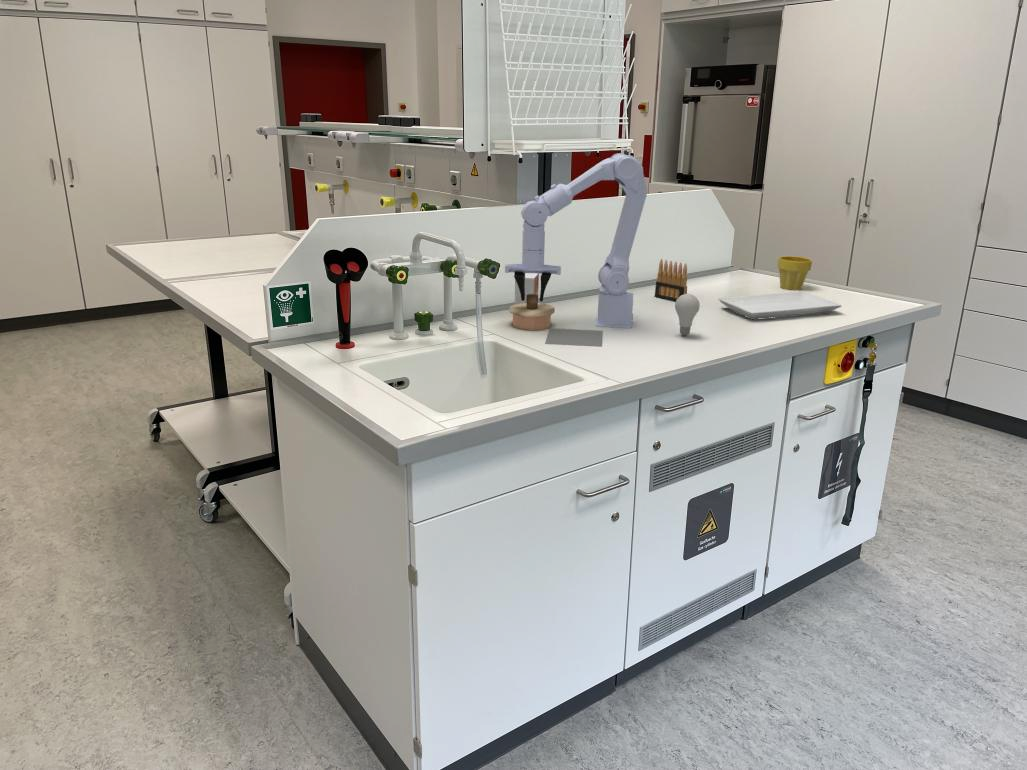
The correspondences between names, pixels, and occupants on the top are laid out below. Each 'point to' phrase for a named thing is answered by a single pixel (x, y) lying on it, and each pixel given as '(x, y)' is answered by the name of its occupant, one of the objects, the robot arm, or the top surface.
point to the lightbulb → (686, 311)
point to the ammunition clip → (671, 281)
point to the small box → (527, 287)
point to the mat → (574, 337)
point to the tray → (779, 305)
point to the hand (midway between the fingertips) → (532, 300)
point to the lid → (532, 308)
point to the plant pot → (793, 271)
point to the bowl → (531, 322)
